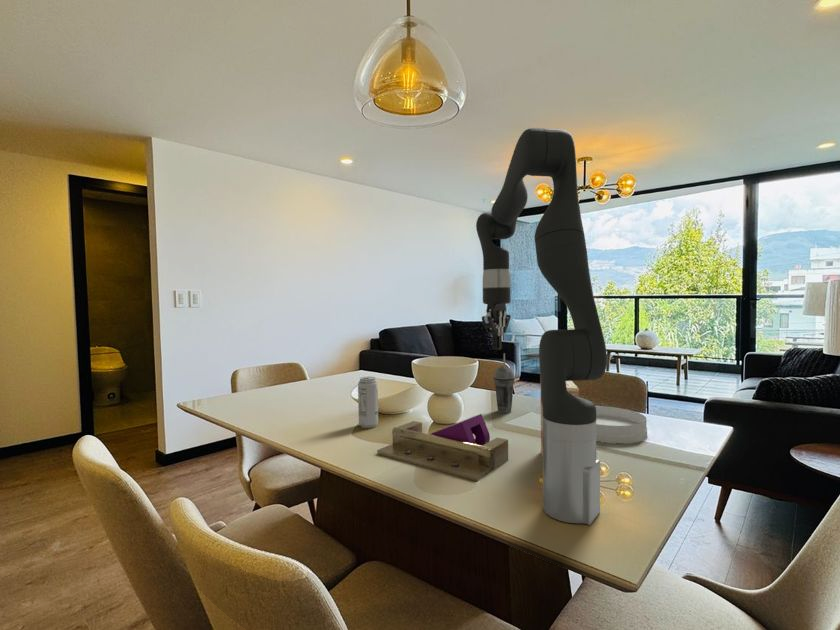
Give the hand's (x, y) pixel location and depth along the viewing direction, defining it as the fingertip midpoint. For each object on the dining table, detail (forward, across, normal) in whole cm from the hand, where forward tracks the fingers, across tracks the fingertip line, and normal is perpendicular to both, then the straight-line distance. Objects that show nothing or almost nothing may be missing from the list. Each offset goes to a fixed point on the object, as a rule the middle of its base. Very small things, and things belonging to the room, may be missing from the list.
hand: (497, 349), depth 122 cm
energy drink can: (+25, -11, +39) cm, 48 cm away
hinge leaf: (+25, -20, +5) cm, 32 cm away
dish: (+26, +24, -22) cm, 41 cm away
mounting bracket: (+26, -15, +6) cm, 30 cm away
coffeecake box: (+25, -8, -20) cm, 33 cm away
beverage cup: (+25, +28, +12) cm, 40 cm away
